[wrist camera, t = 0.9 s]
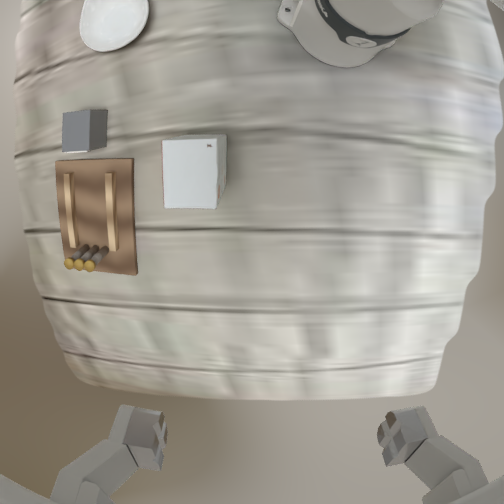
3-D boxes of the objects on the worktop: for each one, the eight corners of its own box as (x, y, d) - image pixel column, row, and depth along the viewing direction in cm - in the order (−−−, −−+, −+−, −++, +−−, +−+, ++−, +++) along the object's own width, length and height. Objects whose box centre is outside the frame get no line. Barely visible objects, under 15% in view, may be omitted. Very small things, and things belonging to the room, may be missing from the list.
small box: (184, 134, 42) (160, 138, 30) (227, 133, 42) (218, 137, 30) (185, 186, 46) (163, 209, 34) (226, 186, 46) (218, 210, 34)
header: (58, 160, 43) (32, 168, 36) (133, 158, 43) (113, 165, 36) (68, 265, 51) (48, 284, 44) (137, 272, 51) (122, 295, 44)
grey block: (82, 112, 40) (62, 113, 34) (107, 110, 40) (90, 109, 35) (81, 148, 42) (62, 153, 37) (106, 147, 43) (89, 151, 37)
